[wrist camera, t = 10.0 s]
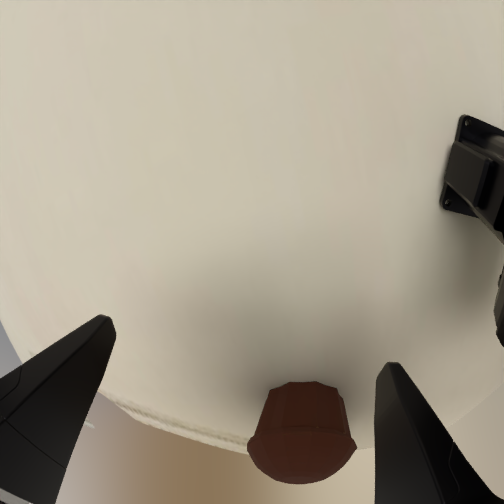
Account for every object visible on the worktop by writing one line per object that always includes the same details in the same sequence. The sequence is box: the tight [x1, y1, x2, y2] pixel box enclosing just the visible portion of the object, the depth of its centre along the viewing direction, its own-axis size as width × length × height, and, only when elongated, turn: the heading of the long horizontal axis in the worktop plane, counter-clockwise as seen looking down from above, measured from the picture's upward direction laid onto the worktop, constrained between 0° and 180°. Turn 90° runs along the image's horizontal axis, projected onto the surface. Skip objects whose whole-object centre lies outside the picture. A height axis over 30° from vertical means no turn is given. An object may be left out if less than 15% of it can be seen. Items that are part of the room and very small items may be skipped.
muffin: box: [247, 381, 357, 484], centre depth 27 cm, size 12×11×10 cm
